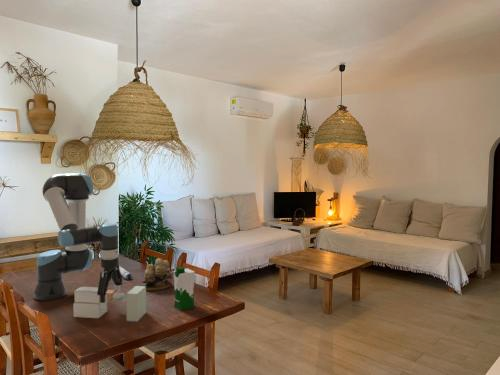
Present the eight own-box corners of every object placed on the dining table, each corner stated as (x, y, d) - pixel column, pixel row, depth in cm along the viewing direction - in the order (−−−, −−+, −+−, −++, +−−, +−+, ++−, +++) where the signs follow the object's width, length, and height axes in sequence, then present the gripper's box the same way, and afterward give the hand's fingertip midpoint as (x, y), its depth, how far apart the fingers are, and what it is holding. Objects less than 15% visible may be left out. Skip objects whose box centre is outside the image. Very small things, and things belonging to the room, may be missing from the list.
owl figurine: (167, 281, 225) (167, 253, 224) (177, 287, 216) (177, 257, 215) (138, 288, 213) (138, 258, 212) (148, 294, 205) (147, 263, 203)
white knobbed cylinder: (124, 274, 227) (109, 260, 245) (124, 284, 228) (109, 270, 246) (133, 272, 230) (117, 259, 249) (132, 283, 231) (117, 268, 250)
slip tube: (83, 301, 175) (83, 292, 175) (88, 297, 179) (88, 288, 179) (122, 303, 173) (122, 293, 172) (127, 299, 177) (127, 290, 177)
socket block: (126, 320, 170) (126, 293, 169) (136, 311, 180) (135, 286, 179) (137, 321, 169) (137, 293, 169) (146, 312, 179) (145, 286, 178)
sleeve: (73, 316, 174) (73, 291, 173) (83, 310, 182) (82, 285, 181) (98, 318, 173) (97, 292, 172) (107, 311, 181) (106, 286, 180)
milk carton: (172, 306, 187) (171, 266, 186) (188, 302, 193) (187, 263, 191) (180, 312, 180) (180, 270, 179) (197, 307, 186) (196, 267, 184)
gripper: (104, 265, 162) (105, 314, 163) (129, 251, 186) (129, 294, 187) (87, 264, 163) (89, 313, 164) (114, 251, 187) (115, 294, 188)
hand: (110, 303), depth 176 cm, fingers open, 12 cm apart
